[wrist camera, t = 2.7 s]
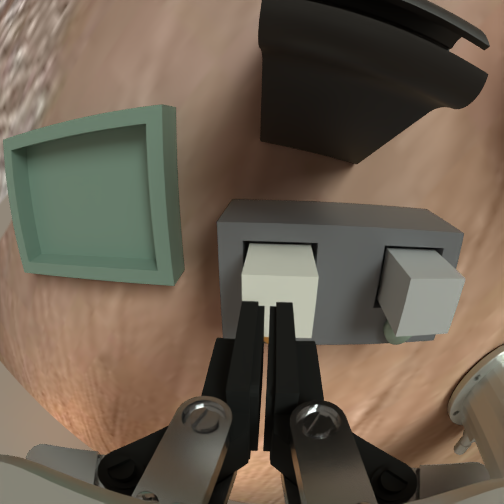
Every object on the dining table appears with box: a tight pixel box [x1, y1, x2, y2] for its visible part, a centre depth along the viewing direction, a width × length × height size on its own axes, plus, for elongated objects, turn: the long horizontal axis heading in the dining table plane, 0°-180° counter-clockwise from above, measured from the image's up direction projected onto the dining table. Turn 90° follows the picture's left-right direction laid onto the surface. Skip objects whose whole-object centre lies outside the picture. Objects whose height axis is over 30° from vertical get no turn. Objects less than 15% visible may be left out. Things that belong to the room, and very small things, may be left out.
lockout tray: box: [3, 105, 185, 286], centre depth 19 cm, size 11×14×2 cm
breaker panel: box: [217, 199, 464, 345], centre depth 17 cm, size 7×13×6 cm, turn 90°
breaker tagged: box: [242, 243, 319, 338], centre depth 14 cm, size 3×3×4 cm
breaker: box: [377, 248, 465, 337], centre depth 13 cm, size 3×3×4 cm
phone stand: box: [258, 0, 490, 164], centre depth 10 cm, size 9×6×12 cm, turn 169°
